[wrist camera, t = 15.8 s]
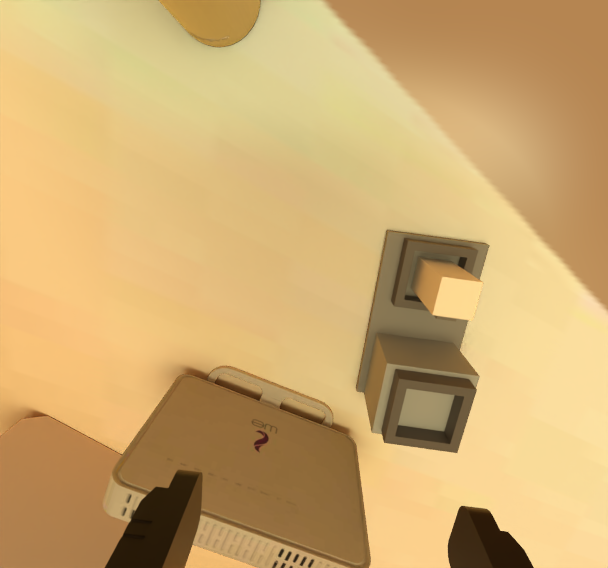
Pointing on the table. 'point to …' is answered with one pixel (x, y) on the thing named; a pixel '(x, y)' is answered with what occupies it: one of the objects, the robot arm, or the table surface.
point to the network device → (251, 474)
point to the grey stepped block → (417, 350)
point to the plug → (446, 289)
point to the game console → (55, 497)
